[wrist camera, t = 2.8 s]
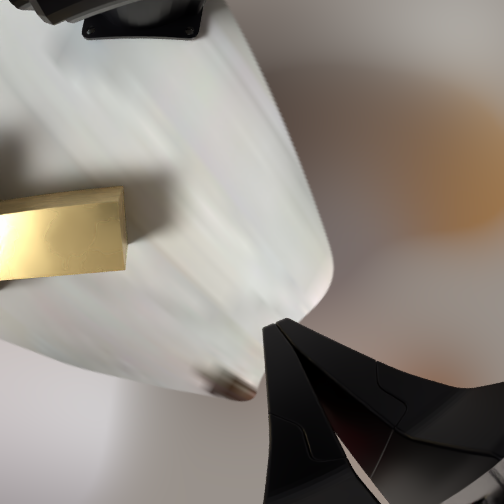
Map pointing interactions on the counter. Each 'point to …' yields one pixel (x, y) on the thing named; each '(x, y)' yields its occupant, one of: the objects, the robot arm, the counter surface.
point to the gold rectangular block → (63, 234)
